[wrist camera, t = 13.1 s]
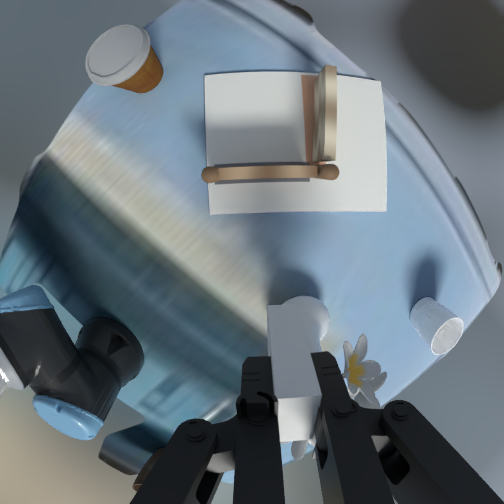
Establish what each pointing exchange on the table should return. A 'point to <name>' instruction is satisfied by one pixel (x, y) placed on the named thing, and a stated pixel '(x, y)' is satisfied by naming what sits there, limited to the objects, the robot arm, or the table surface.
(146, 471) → the plant pot
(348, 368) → the flower vase
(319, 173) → the fixed fence section
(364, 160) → the board
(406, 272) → the table surface
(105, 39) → the disposable coffee cup
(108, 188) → the table surface
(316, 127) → the hinged fence panel
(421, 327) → the white cup
